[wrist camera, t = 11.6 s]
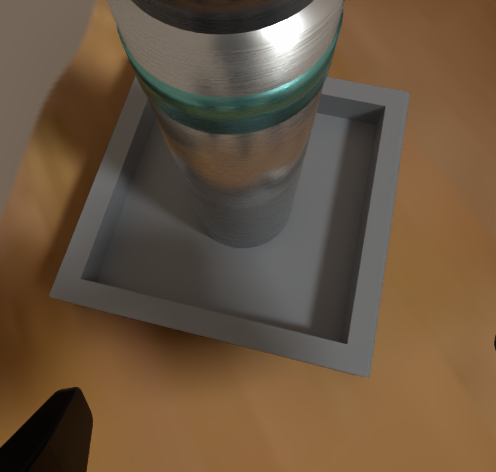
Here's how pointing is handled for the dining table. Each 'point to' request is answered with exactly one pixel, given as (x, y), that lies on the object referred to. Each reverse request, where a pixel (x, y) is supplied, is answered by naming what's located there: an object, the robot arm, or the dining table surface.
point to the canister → (233, 99)
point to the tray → (256, 258)
